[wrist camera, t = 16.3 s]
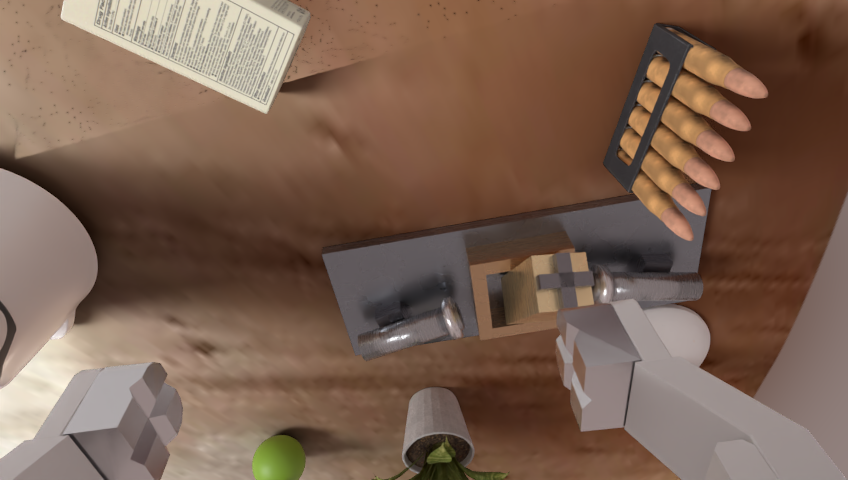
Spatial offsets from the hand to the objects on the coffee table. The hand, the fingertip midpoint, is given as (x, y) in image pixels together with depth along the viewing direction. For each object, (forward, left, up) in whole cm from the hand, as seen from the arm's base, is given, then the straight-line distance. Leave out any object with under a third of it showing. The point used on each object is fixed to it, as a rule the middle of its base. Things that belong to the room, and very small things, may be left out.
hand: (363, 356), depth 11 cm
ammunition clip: (+18, -8, -29) cm, 35 cm away
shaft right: (+18, -23, -28) cm, 41 cm away
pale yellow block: (+8, -23, -26) cm, 36 cm away
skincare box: (-6, -1, -27) cm, 27 cm away
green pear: (-20, -40, -29) cm, 53 cm away
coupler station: (+8, -22, -29) cm, 37 cm away
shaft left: (-2, -24, -28) cm, 37 cm away
